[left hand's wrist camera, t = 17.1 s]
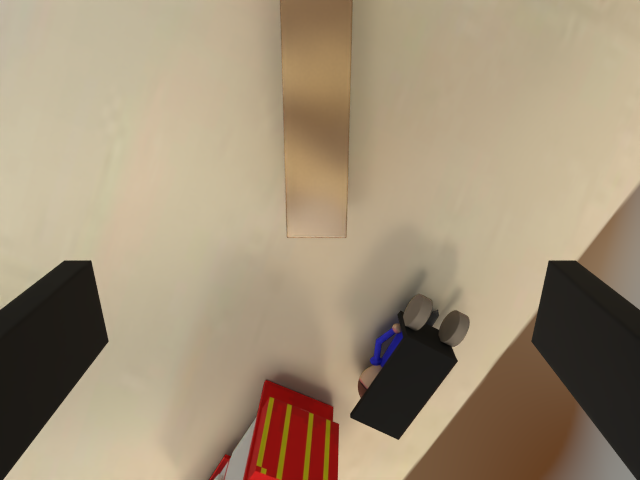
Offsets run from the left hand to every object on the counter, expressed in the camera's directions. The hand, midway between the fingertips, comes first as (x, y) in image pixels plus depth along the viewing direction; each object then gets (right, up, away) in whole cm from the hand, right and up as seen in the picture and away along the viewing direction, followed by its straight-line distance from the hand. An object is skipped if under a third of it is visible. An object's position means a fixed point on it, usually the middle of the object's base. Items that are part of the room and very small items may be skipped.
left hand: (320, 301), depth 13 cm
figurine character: (+9, -10, +38) cm, 40 cm away
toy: (-8, -28, +45) cm, 54 cm away
